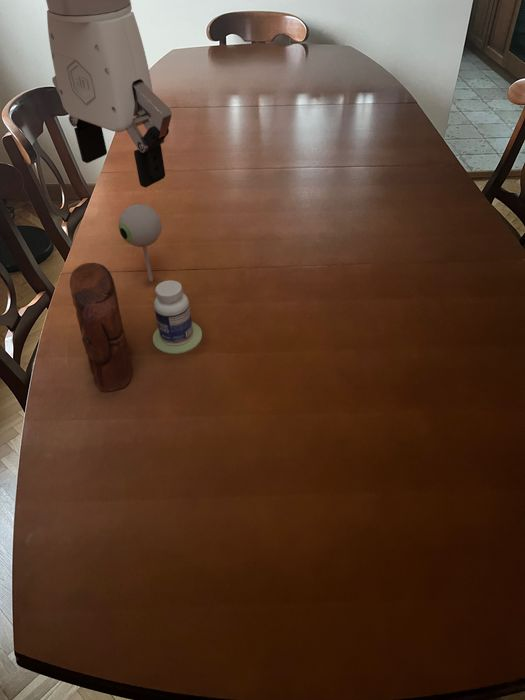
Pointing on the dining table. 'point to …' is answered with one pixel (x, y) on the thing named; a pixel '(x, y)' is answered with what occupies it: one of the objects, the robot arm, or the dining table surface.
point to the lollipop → (140, 228)
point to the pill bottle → (173, 313)
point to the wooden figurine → (101, 326)
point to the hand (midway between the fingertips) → (123, 169)
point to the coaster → (181, 348)
